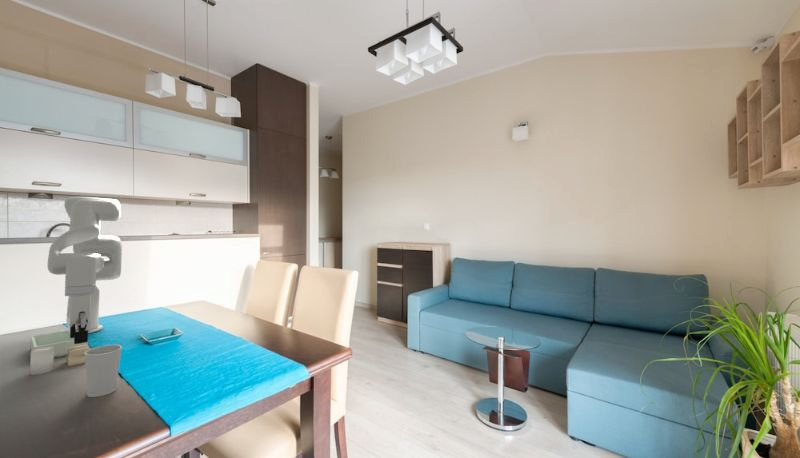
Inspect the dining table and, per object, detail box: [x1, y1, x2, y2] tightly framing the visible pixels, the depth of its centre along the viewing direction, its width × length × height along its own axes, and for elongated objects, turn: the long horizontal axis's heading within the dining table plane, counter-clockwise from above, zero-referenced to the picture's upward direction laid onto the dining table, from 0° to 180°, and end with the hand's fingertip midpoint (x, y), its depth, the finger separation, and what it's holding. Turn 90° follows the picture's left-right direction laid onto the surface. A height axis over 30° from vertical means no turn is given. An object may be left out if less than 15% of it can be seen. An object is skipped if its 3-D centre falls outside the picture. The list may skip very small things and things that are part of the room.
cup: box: [84, 344, 123, 398], centre depth 92 cm, size 8×8×12 cm
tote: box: [30, 329, 89, 359], centre depth 120 cm, size 17×13×5 cm
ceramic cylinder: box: [29, 347, 55, 376], centre depth 103 cm, size 5×5×7 cm
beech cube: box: [66, 343, 91, 367], centre depth 111 cm, size 5×5×5 cm
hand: (78, 339), depth 110 cm, fingers open, 9 cm apart
